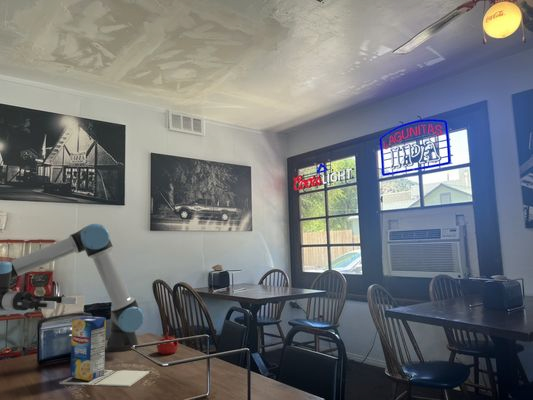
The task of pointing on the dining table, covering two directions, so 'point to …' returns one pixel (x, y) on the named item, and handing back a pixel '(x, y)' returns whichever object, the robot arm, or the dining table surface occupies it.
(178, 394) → the dining table surface
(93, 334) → the blue cardboard box
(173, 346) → the pomegranate
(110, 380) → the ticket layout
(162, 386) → the dining table surface
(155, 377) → the dining table surface
